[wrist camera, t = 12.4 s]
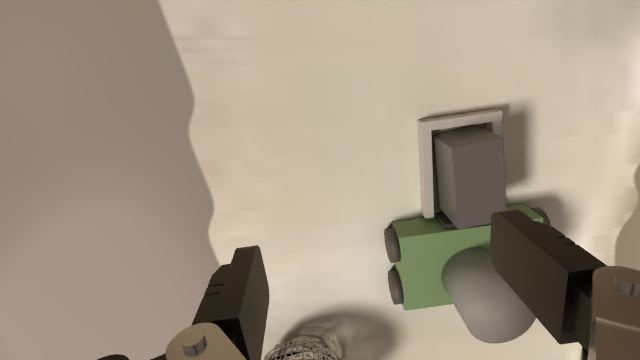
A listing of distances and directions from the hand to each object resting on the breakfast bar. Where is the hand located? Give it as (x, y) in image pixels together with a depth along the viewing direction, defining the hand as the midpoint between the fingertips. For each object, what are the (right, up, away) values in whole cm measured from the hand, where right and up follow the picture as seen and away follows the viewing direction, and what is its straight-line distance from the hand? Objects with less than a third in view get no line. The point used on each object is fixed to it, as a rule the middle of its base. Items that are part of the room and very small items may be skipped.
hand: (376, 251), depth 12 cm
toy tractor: (+15, -1, +31) cm, 34 cm away
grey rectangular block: (+14, +4, +29) cm, 33 cm away
